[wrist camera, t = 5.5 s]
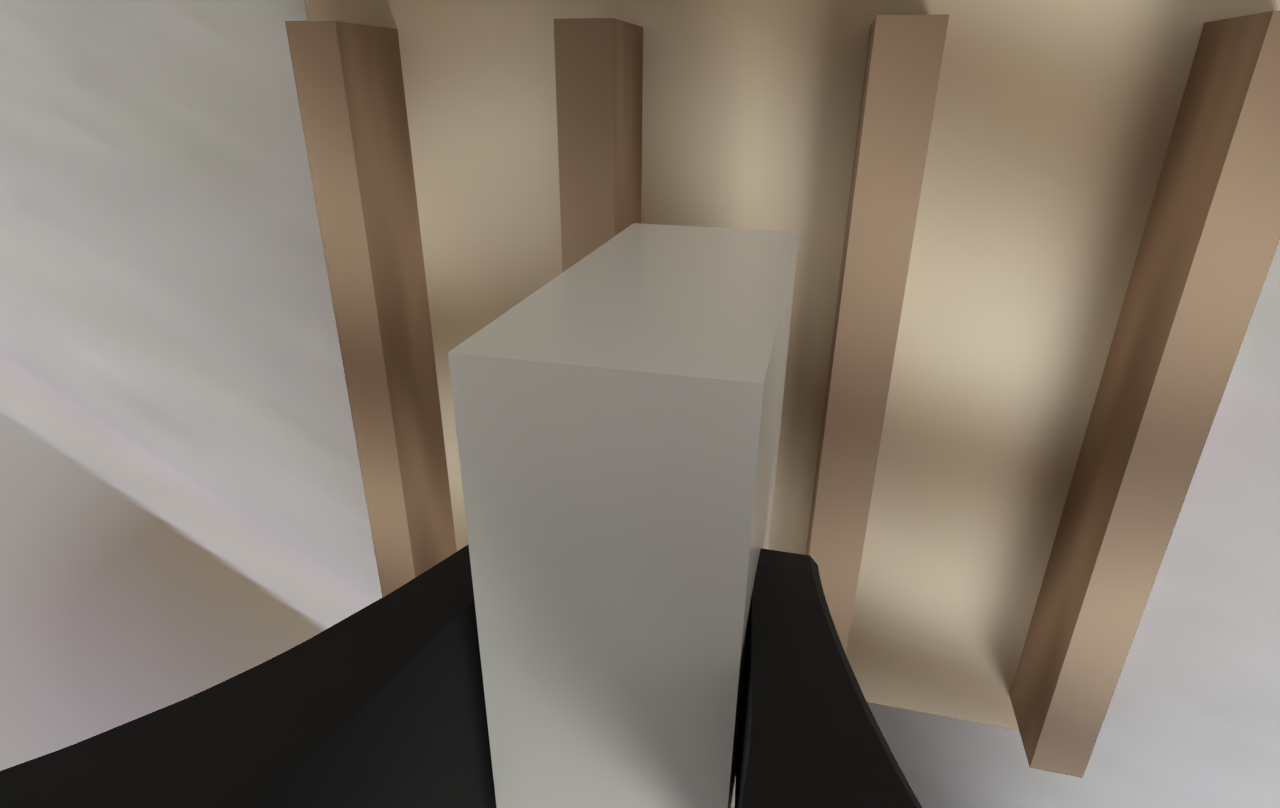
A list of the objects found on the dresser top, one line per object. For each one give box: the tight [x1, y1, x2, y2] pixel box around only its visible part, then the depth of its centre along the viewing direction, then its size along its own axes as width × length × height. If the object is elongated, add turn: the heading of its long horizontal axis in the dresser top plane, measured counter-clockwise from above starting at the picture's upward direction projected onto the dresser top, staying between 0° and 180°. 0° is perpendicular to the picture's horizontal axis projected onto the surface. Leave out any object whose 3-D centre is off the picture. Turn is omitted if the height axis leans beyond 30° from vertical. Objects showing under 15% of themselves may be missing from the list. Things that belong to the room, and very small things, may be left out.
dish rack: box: [285, 0, 1280, 778], centre depth 15 cm, size 16×18×3 cm
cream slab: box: [448, 223, 799, 808], centre depth 10 cm, size 8×2×6 cm, turn 0°
